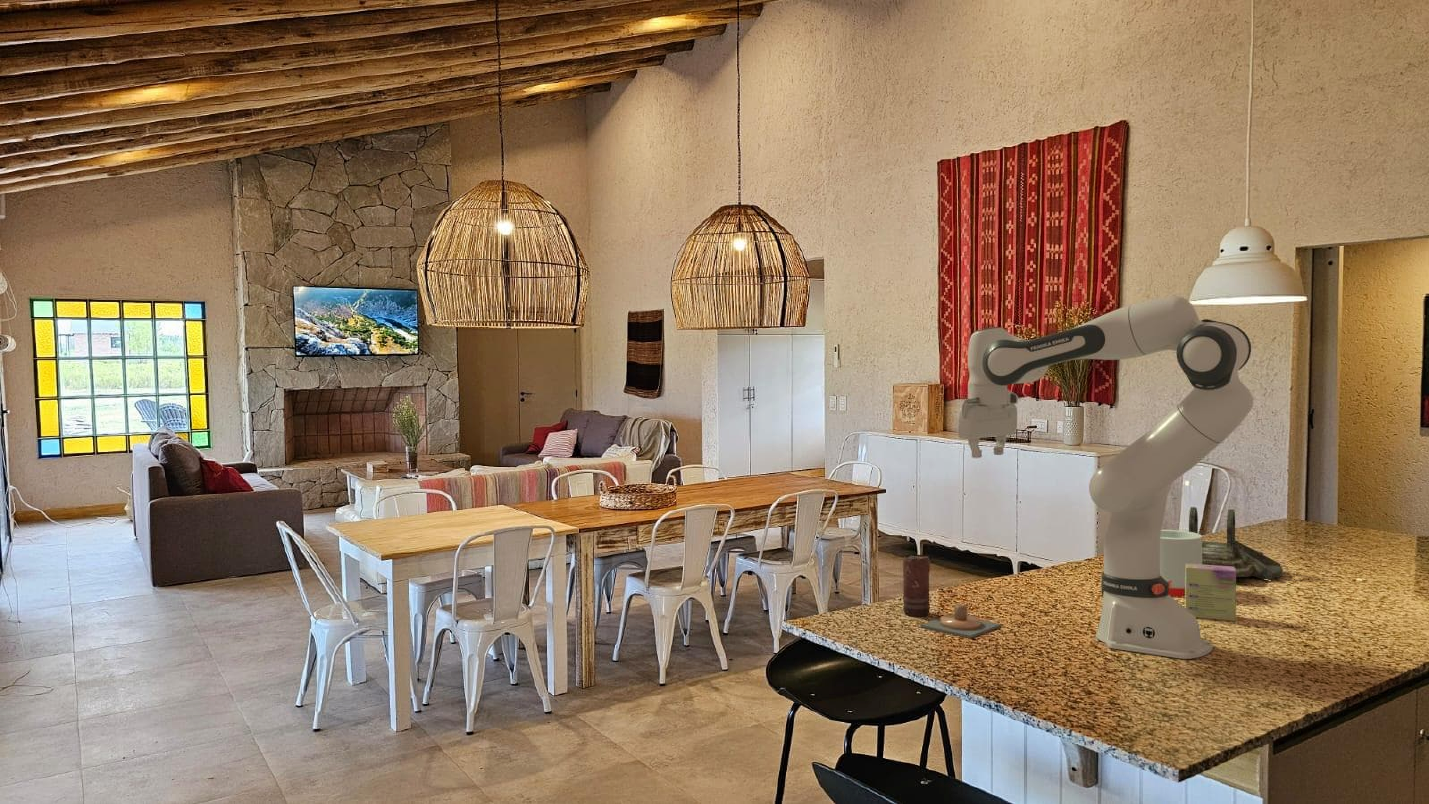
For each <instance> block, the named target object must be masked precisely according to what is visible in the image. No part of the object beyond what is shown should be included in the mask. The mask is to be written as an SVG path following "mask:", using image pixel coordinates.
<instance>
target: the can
mask: <svg viewBox="0 0 1429 804" xmlns="http://www.w3.org/2000/svg"><path fill="white" fill-rule="evenodd" d="M930 561H931V560H930V557H928V556H927V555H924V554H906V555H904V557H903V559H902V568H903V570H902V575H903V576H902V581H903V582H902V585H903V587H902V588H903V589H902V590H903V591H902V592H903V613H904V614H905V616H908V617H913V618H914V617H915V618H916V617H917V618H918V617H919V618H921V617H926V616H928V615H929V614H930V570H931V562H930Z"/></svg>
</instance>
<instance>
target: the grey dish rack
mask: <svg viewBox="0 0 1429 804" xmlns="http://www.w3.org/2000/svg"><path fill="white" fill-rule="evenodd" d="M1188 514H1189V515H1188V532H1194V533H1197V534H1199V518H1198V517H1199V515H1198V508H1197V507H1195V506H1190V509H1189V513H1188ZM1226 518H1227V519H1226V542H1215V541H1205V540H1202V565H1217V566H1232V567H1235V570H1236V578H1237V577H1238V578H1243V577H1244V578H1248V577H1250V578H1251V577H1255V578H1257V579H1259V578H1260V579H1259V580H1261V579H1268V580H1272V579H1273V580H1274V578H1280V577H1281V575H1282V574H1283V572H1284V571H1283V566H1282V565H1281V563H1280V562H1277V561H1276V560H1274V559H1272V558H1271V557H1268V556H1266V555H1264V552H1262V551H1259V550H1256V549H1253V548H1251V547H1250V546H1247V545H1245V544H1243V543H1241V541H1238V540H1236V514H1235V509H1228V510H1227V517H1226Z"/></svg>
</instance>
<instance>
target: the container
mask: <svg viewBox="0 0 1429 804" xmlns="http://www.w3.org/2000/svg"><path fill="white" fill-rule="evenodd" d="M1202 541H1203V535H1202V534H1200V533H1198V534H1197V533H1194V532H1189V530H1188V531H1187V530H1178V529H1161V536H1160V576H1161V577H1162V578H1163V579H1165V580H1166V581H1167V582H1168V581H1170V580H1171V581H1172V582H1171V583H1170V585H1171V586H1169V595H1170V596H1179V597H1178V598H1183V597H1182V596H1185V568H1186V563H1189V564H1202Z"/></svg>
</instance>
